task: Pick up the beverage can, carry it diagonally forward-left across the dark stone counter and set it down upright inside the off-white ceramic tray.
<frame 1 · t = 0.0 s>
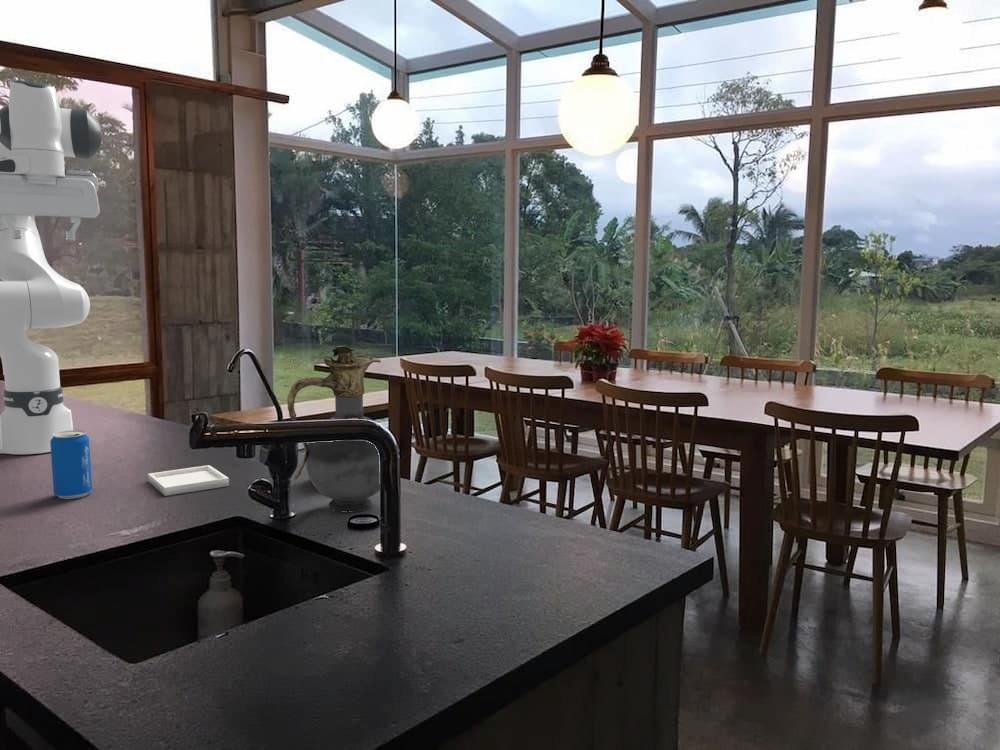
hand: (43, 239, 159), 48 cm above the counter, fingers open, 8 cm apart
pitcher: (341, 509, 148), on the counter
beverage can: (73, 496, 154), on the counter
tray: (188, 483, 162), on the counter
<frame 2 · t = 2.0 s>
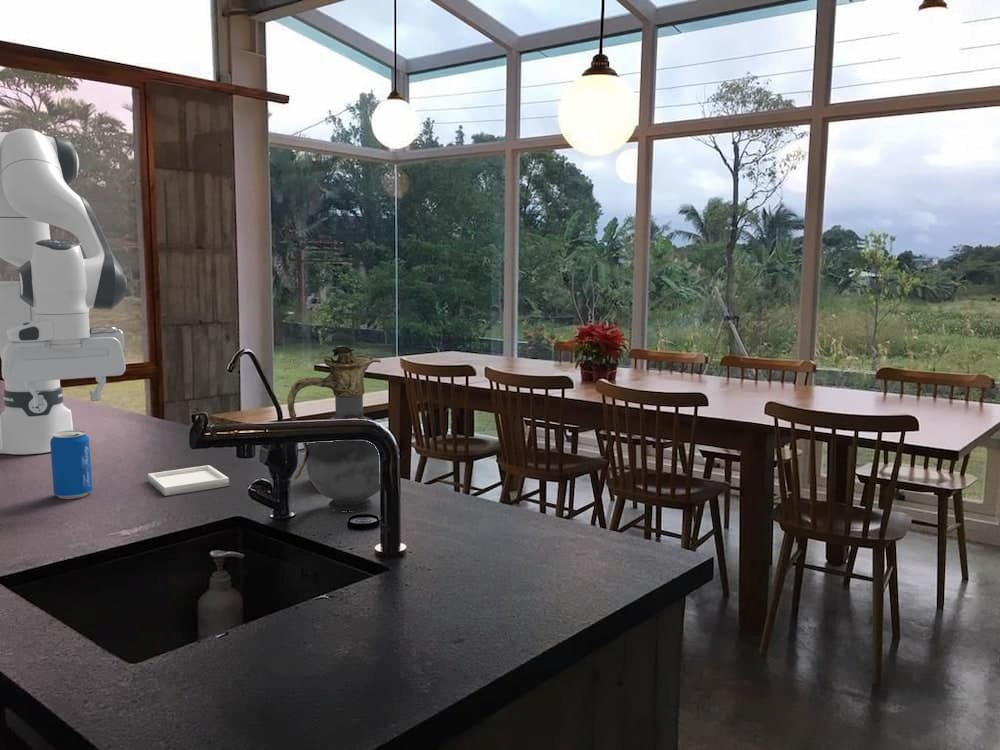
hand: (67, 402, 151), 18 cm above the counter, fingers open, 8 cm apart
nothing on the counter moved.
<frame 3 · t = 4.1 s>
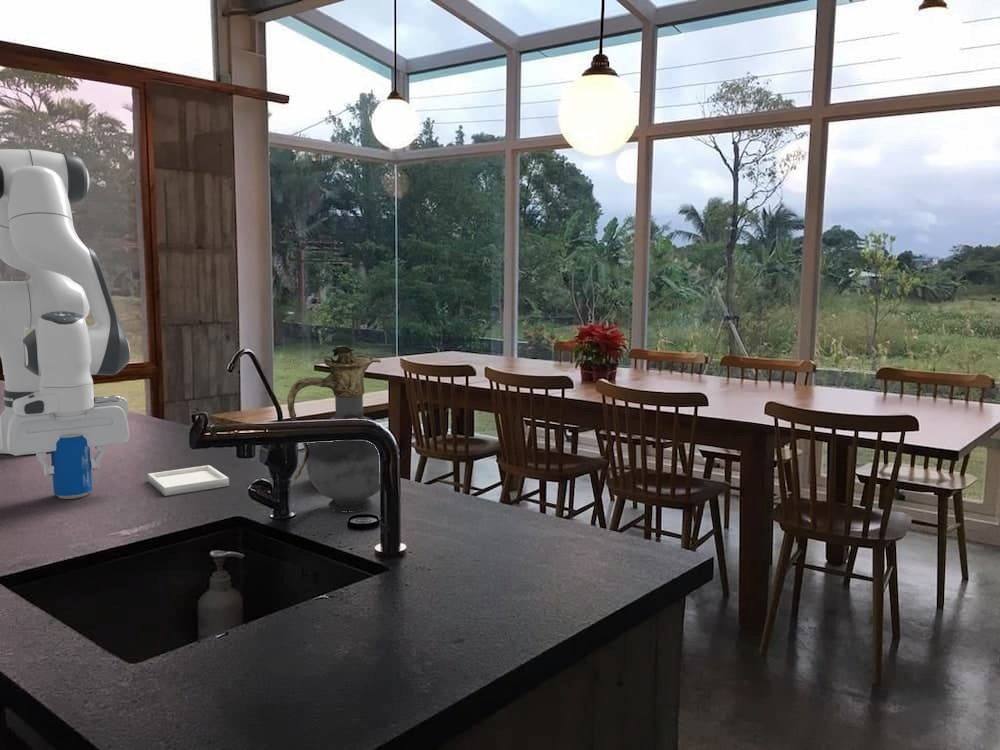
hand: (72, 471, 153), 5 cm above the counter, fingers closed on beverage can, 6 cm apart
beverage can: (73, 496, 154), on the counter, touching gripper
everything else where it was.
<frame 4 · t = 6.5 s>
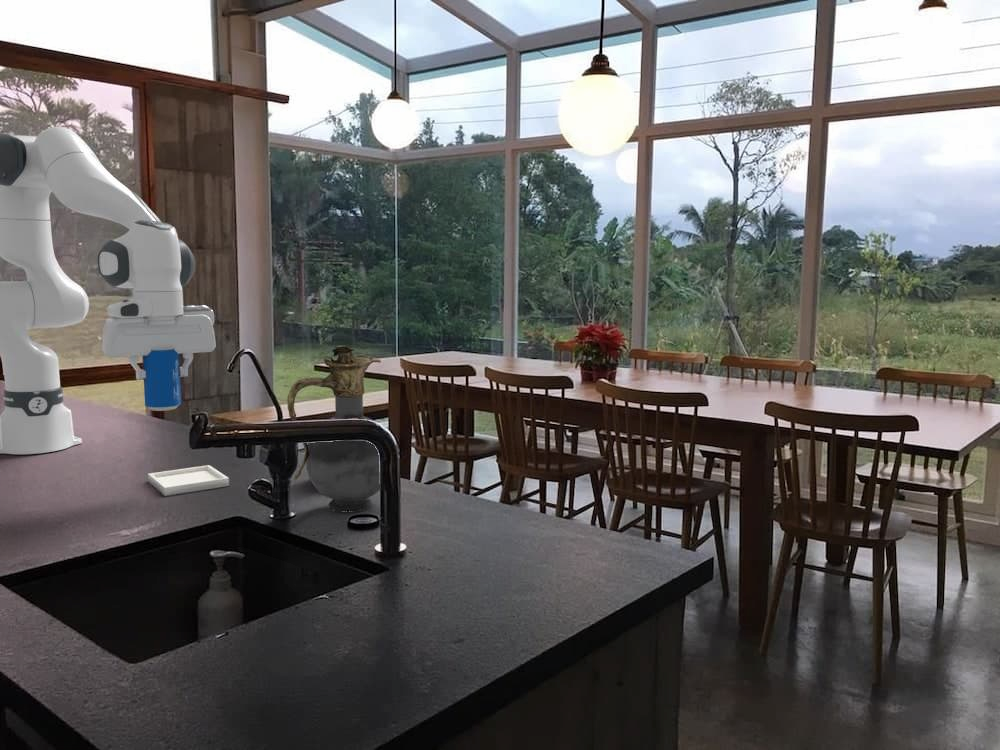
hand: (162, 377, 157), 22 cm above the counter, fingers closed on beverage can, 6 cm apart
beverage can: (163, 409, 158), point 15 cm above the counter, touching gripper
everything else where it was.
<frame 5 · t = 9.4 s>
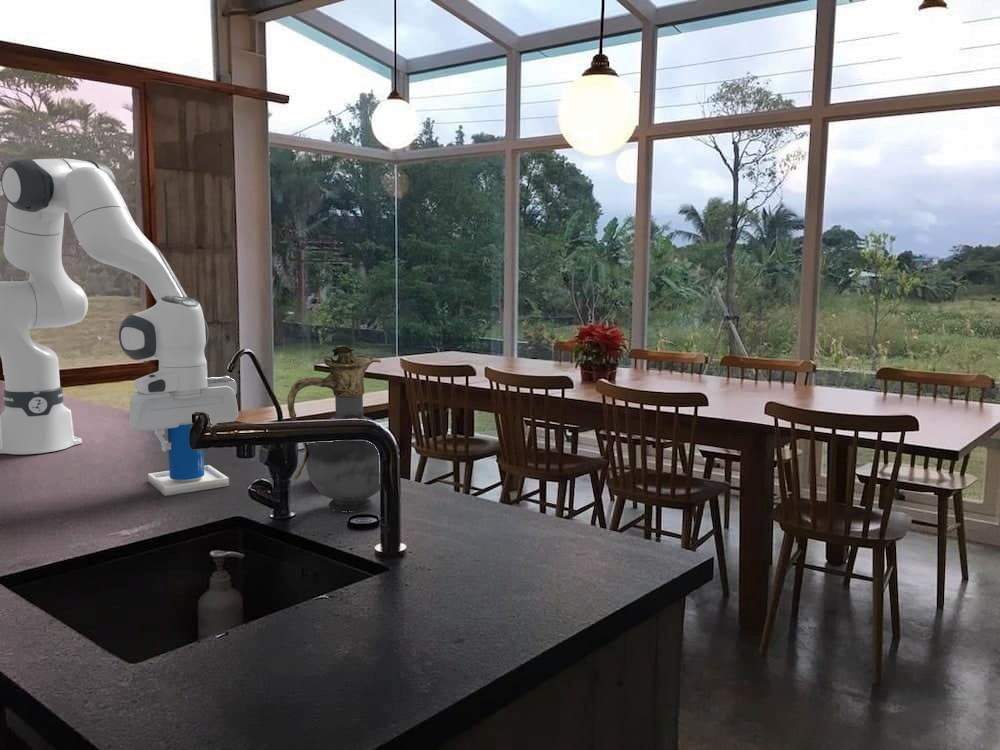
hand: (186, 448, 161), 7 cm above the counter, fingers closed on beverage can, 6 cm apart
beverage can: (187, 480, 162), point 1 cm above the counter, touching gripper, tray
everything else where it was.
when the fingers open (7 cm above the counter, at t = 10.5 s): beverage can stays where it is, resting on tray.
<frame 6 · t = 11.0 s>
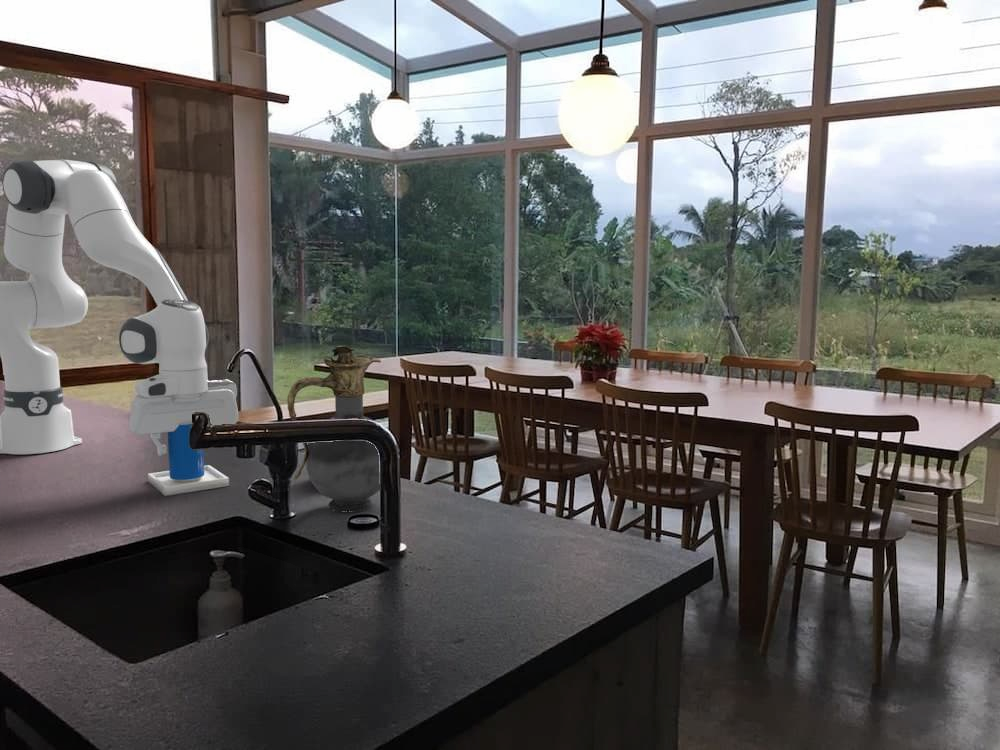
hand: (187, 451, 161), 7 cm above the counter, fingers open, 8 cm apart
beverage can: (187, 480, 162), point 1 cm above the counter, touching tray
everything else where it was.
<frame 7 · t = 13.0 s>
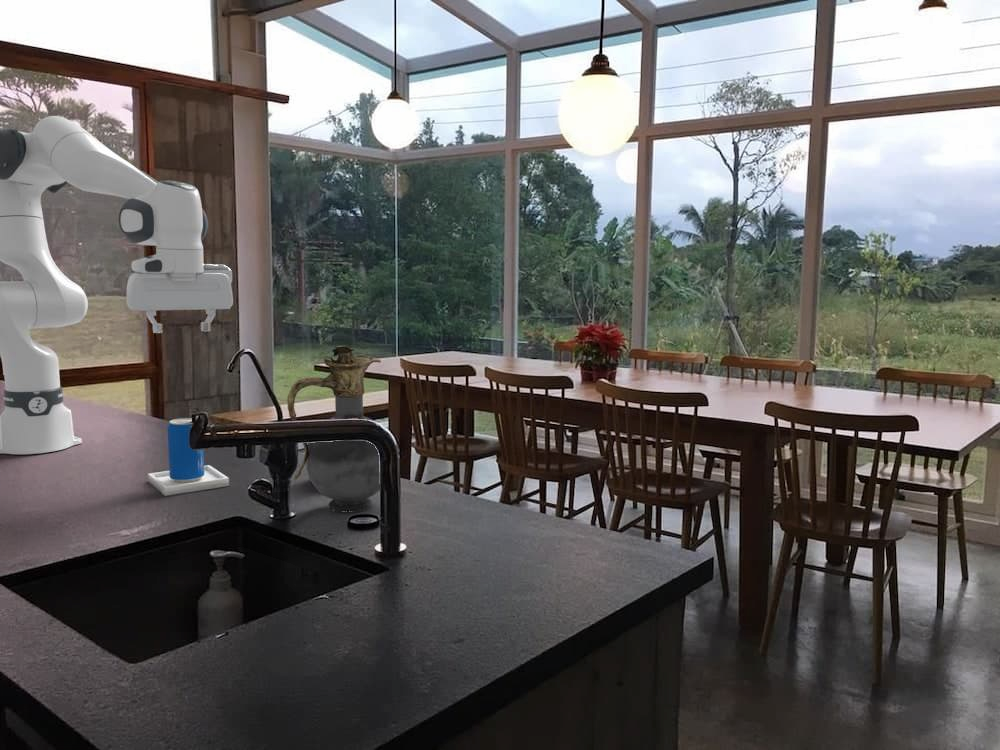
hand: (182, 332, 165), 30 cm above the counter, fingers open, 8 cm apart
nothing on the counter moved.
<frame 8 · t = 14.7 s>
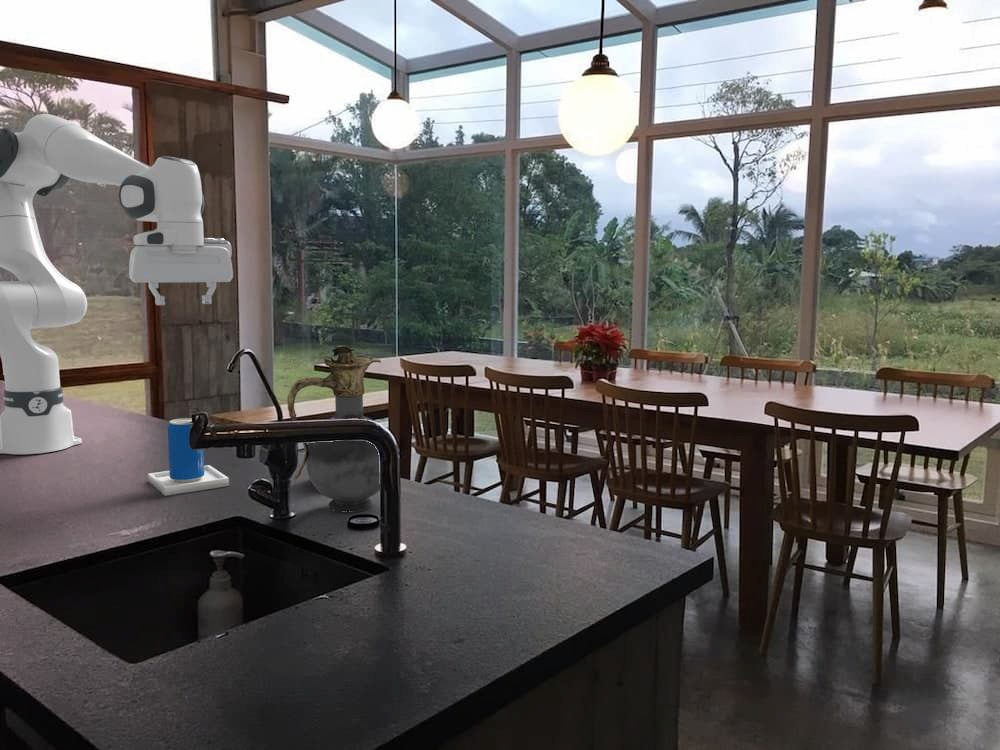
hand: (183, 304, 169), 35 cm above the counter, fingers open, 8 cm apart
nothing on the counter moved.
at the end: beverage can inside the target area on the tray (0.3 cm from its centre), point 0.6 cm above the tray's base; beverage can tilted 0°; the gripper is holding nothing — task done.
